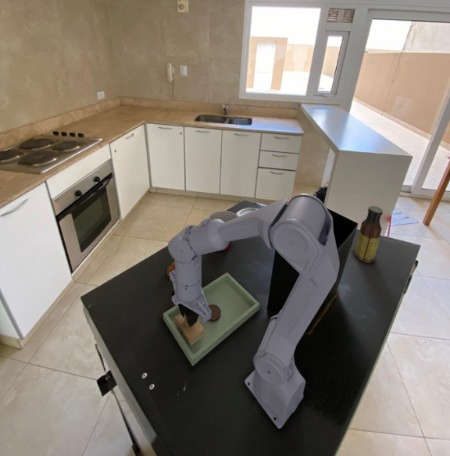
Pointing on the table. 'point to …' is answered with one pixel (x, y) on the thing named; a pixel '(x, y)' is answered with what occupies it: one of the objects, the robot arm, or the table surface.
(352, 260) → the table surface
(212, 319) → the grime patch
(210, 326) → the tray
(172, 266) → the pastry
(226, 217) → the plastic cup
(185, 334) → the wooden stamp
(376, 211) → the sauce bottle
